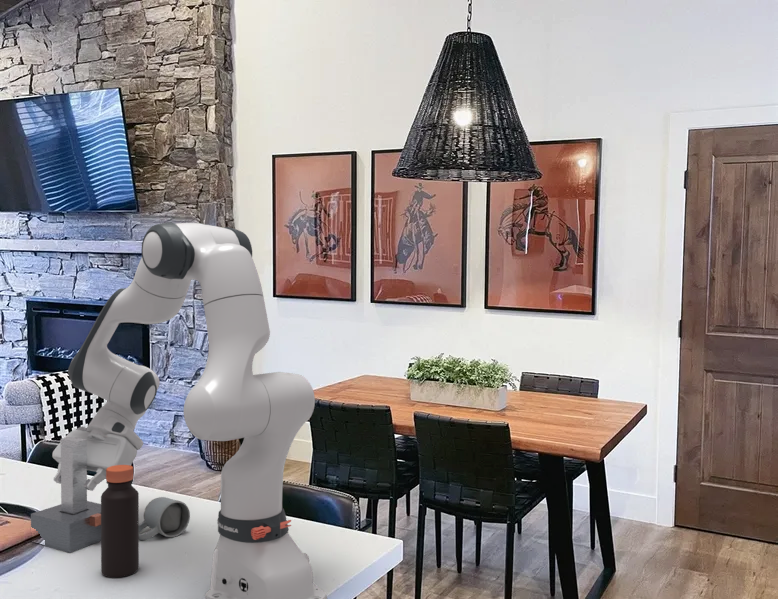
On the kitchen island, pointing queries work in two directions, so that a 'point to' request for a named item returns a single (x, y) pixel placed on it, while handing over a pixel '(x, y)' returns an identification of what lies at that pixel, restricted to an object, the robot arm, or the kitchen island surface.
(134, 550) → the bottle
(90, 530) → the stand sleeve
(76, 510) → the column
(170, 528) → the ceramic mug
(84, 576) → the kitchen island surface
